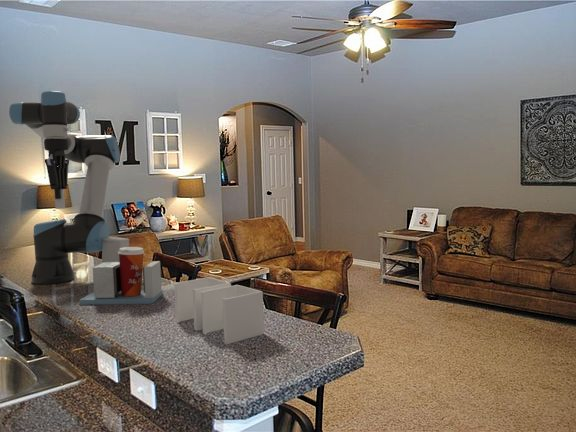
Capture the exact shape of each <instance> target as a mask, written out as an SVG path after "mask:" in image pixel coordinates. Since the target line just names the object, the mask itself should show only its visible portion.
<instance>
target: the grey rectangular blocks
mask: <svg viewBox="0 0 576 432" xmlns="http://www.w3.org/2000/svg"><path fill="white" fill-rule="evenodd" d="M263 294H264V293H263V291H261V290H258V289H256V288H255V289H254V288H251V287H247V286H243V285H239V284H235V285H232V283H231V282H229V281H225V280H222V279H218V278H213V277H211V276H208V277H203V278H201V277H200V278H196V279H191V280H186V281H185V280H184V281H180V282H179V281H178V282H174V302H175V303H174V304H175V307H174V308H175V322H176V323H177V324H179V323H180V322H185V321H188V320H189V321H190V320H193V327H194V328H193V329H194V331H195V330H196V331H195V332H198V330H199V331H202V334H203V335H204V336H205V335H207V334H209V333H214V332H217V331H221V330H223V342H224V344H225V345H228V344H229V345H230V344H232V343H235V342H236V343H237V342H239V341H243V340H246V339H250V338H254V337H257V336H258V337H259V336H261V335H264V333H265V330H264V327H265V325H264V298H263V297H264V296H263ZM202 329H203V330H202Z"/></svg>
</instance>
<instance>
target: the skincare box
mask: <svg viewBox="0 0 576 432" xmlns="http://www.w3.org/2000/svg"><path fill="white" fill-rule="evenodd" d="M123 247H130V238H127V237H126V238H124V237H115V236H109V238H104V239H102V251H101V255H102V256H101V264H102V263H104V262H119V254H118V252H119V249H120V248H123Z"/></svg>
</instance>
